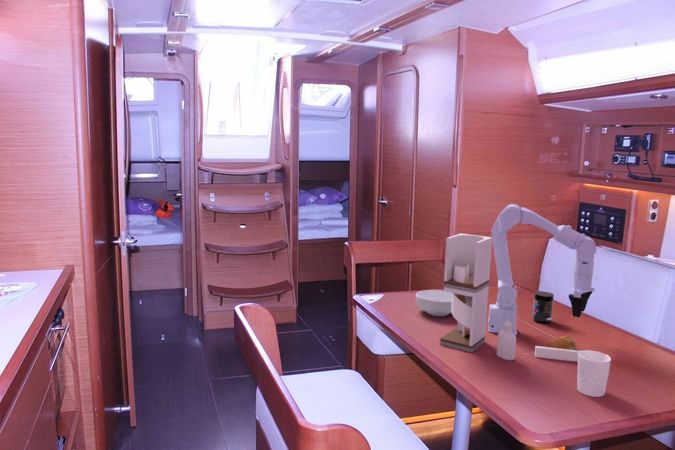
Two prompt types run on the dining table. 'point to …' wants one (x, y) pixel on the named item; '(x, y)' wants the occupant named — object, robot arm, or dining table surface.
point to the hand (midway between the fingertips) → (578, 313)
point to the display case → (467, 288)
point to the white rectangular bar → (556, 353)
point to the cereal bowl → (434, 302)
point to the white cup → (592, 373)
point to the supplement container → (543, 307)
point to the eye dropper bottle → (506, 342)
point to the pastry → (563, 343)
